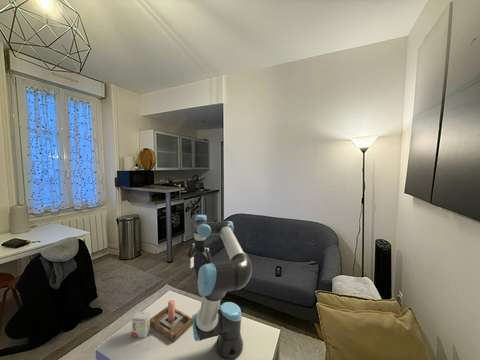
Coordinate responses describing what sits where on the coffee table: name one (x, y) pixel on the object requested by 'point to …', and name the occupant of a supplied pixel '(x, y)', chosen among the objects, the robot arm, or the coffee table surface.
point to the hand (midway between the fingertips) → (199, 270)
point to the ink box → (140, 324)
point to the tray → (166, 332)
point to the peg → (171, 311)
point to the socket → (173, 325)
